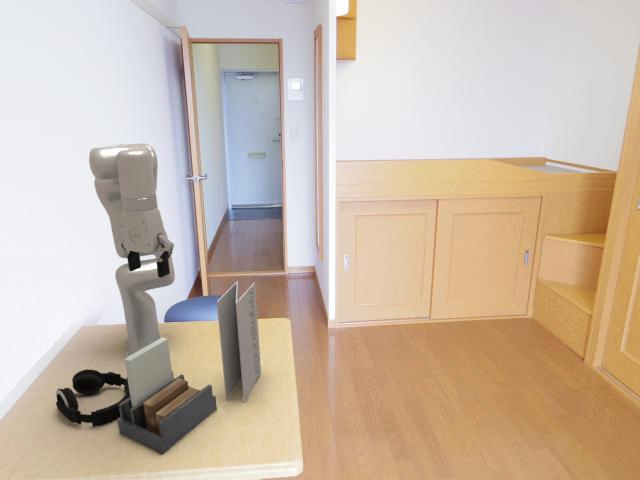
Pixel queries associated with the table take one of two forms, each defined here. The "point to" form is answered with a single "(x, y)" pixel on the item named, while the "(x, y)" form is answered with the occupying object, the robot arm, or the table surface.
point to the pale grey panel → (148, 370)
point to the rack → (166, 419)
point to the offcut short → (174, 405)
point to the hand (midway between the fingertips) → (149, 272)
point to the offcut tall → (162, 402)
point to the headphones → (88, 385)
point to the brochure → (239, 339)
